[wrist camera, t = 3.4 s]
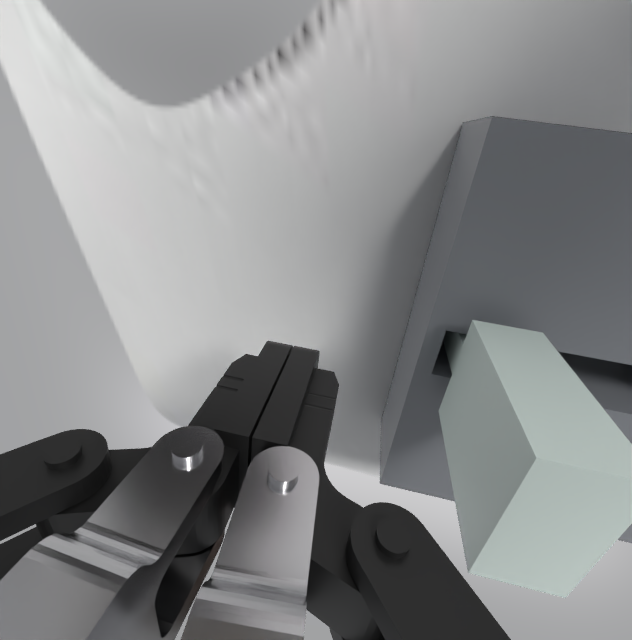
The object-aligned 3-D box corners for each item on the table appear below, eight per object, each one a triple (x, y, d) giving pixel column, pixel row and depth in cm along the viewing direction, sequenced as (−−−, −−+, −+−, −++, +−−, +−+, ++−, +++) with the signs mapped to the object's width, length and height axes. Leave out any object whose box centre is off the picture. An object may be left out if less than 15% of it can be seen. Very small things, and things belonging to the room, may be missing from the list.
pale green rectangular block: (449, 271, 14) (535, 457, 6) (500, 279, 14) (665, 486, 6) (426, 345, 16) (468, 573, 8) (471, 354, 16) (565, 598, 7)
